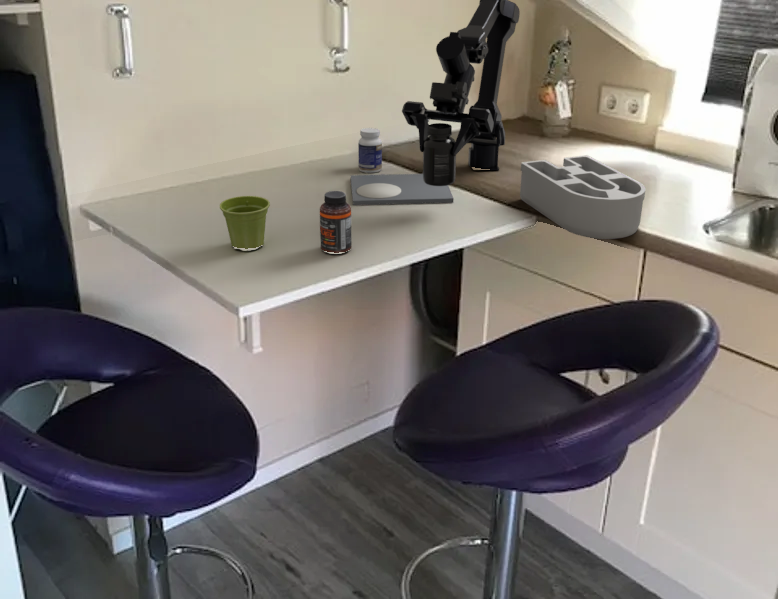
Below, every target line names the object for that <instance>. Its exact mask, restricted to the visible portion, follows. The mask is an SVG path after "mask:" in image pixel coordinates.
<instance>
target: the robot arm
mask: <svg viewBox="0 0 778 599" xmlns="http://www.w3.org/2000/svg"><path fill="white" fill-rule="evenodd" d="M478 4H479V5H478V6H477V7H476V10H475V11H474V14H473V15H472V17H471V18H470V21H469V22H468V24H467V26H466V27H463V28H461V29H458V30H457V31H455V32H454V31H450V32H449V35H448V36H445V37H444V38H442V39H440V41H439V42H438V43H437V44H436V48H435V52H436V54H437V55H436V56H437V57H438V61H439V62H440V66H441V68H442V70H443V72H445V79H444V80H443V81H444V82H436V81H435V82H431V87H430V93H429V99H430V100H433V101H432V105H433V107H436V108H435V109H427V108H426V107H425V105H424V102H420V101H413V100H412V101H410V100H407V101H406V102H404V104H403V106H402V110H401V113H402V114H403V116H404V118H405V121H406V123H407V125H408V126H409V125H410V126H414V127H416V129H417V130H418V139H419V140H418V142H419V151H420V153H423V143H424V141H425V139H426V138H428V137H429V135H428V126H429V125H430V124H429V123H430V120H433V121H441V122H449V123H451V122H452V123H460V128H459V131H458V133H457V137H456V139H455V145H454V148H453V152H452V154H453V156H456V157H457V155H458V154H459V152H460V151H461V150H462V149H463V148H464V147H465V146H466V145H467V144H471V146H470V147H469V148H468V160H467V161H468V162H467V163H468V166H469V167H470V168H471V167H475V168H481V169H490V170H497V171H500V167H499V150H500V149H499V148H500V147H501V146H505V144H506V131H505V128H504V124H503V121H502V118H503V117H502V113H501V111H500V108H499V106H498V100H499V99H498V98H499V91H500V86H501V79H502V78H501V77H502V72H503V65H504V59H505V52H506V46H507V45H506V44H507V42H508V41H509V39H510V38H511V37H512V36H513V35H514V33H515V31H516V25H517V24H518V23H519V20H520V11H521V10H520V7H518V5H517V4H516V2H513V1H511V0H479V3H478ZM482 62H483V63H482ZM473 64H477V65H480V64H482V70H481V71H482V72H481V78H480V83H479V84H480V85H479V91H478V97H477V101H476V102H475V103H474V104H473V105H470V108H469V109H468V113H465V109H466V105H468V104H469V101H470V100H469V95H470V92H471V87H472V84H473V82H474V81H475V74H476V70H475V68H474V66H473Z"/></svg>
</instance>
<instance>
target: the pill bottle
mask: <svg viewBox="0 0 778 599" xmlns="http://www.w3.org/2000/svg"><path fill="white" fill-rule="evenodd" d="M359 132H360V133H359V135H360V136H361V137H360V138H359V139H358V145H357V146H358V148H357V149H358V152H357V153H358V170H359V171H360V172H362V173H367V174H374V173H379V172H381V171H382V168H383V163H382V162H383V155H382V154H383V143H382V142H383V141H382V139H381V138H380V137H379V136H381V134H380V133H381V131H380V129H379V128H377V127H363V128H361V129H360V131H359Z"/></svg>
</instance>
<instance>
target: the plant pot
mask: <svg viewBox="0 0 778 599" xmlns="http://www.w3.org/2000/svg"><path fill="white" fill-rule="evenodd" d="M270 206H271V203H270V201H269V199H267V198H265V197H262V196H256V195H242V196H241V195H240V196H233V197H231V198H227V199H225V200H223V201H221V203H219V209H220V210H221V212H222V215H223V217H224V219H225V224H226V226H227V232H228V235H229V239H230V243H231V244H232V245H231V247H232V246H234V247H237V248H245V249H248V248H256V247H259V246H261V245H263V244H264V245H265V232H266V221H267V214H268V211H269V210H268V209H269V207H270ZM264 245H263V246H264Z"/></svg>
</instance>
